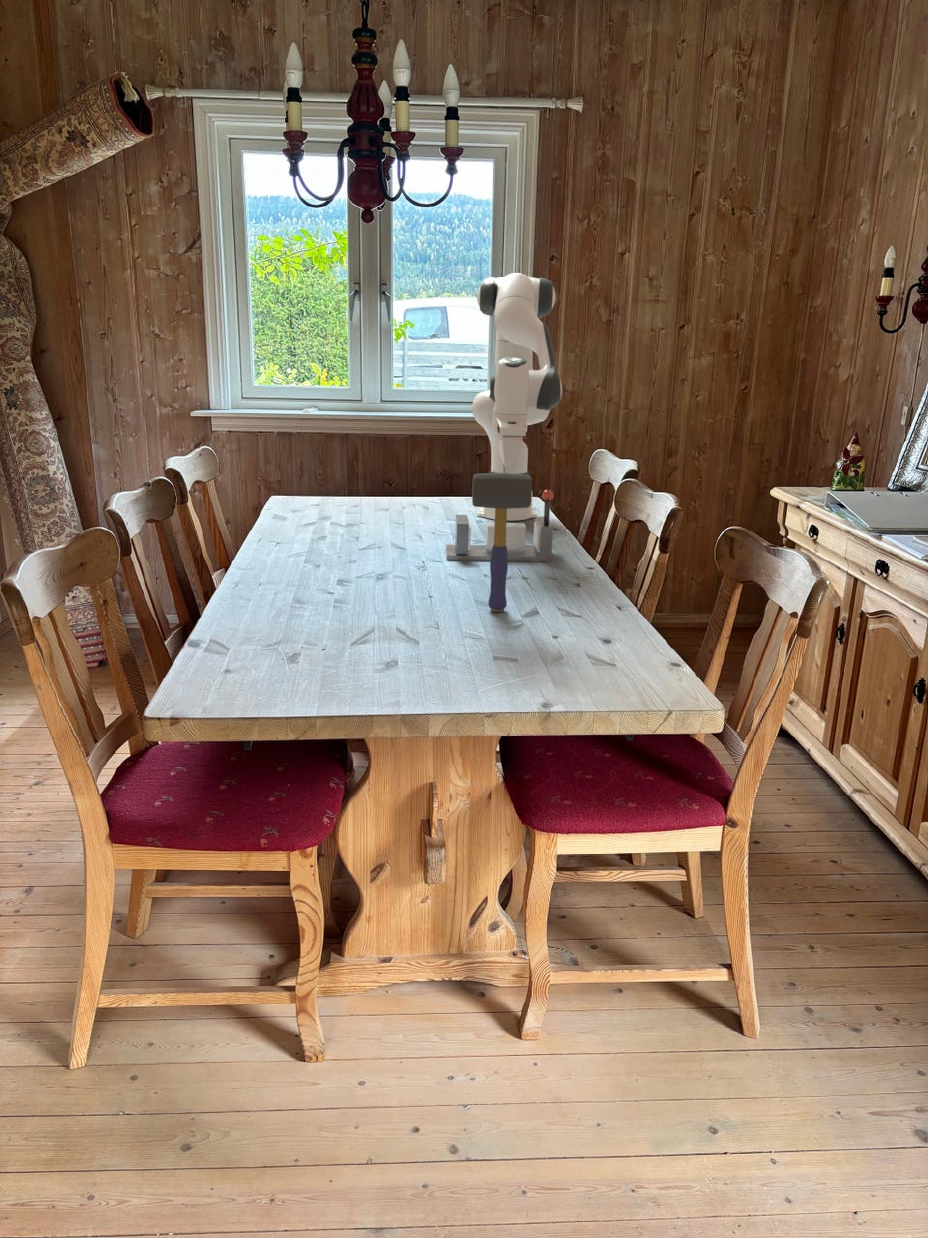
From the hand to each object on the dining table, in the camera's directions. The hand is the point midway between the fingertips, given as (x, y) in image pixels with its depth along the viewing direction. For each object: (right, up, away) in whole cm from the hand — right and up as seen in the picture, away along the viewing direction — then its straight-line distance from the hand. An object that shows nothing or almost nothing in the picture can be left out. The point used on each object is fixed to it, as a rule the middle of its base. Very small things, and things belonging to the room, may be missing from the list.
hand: (507, 478), depth 253 cm
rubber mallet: (-4, -35, -41) cm, 54 cm away
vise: (-2, -19, +6) cm, 20 cm away
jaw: (-12, -18, +5) cm, 22 cm away
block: (0, -18, +6) cm, 19 cm away
